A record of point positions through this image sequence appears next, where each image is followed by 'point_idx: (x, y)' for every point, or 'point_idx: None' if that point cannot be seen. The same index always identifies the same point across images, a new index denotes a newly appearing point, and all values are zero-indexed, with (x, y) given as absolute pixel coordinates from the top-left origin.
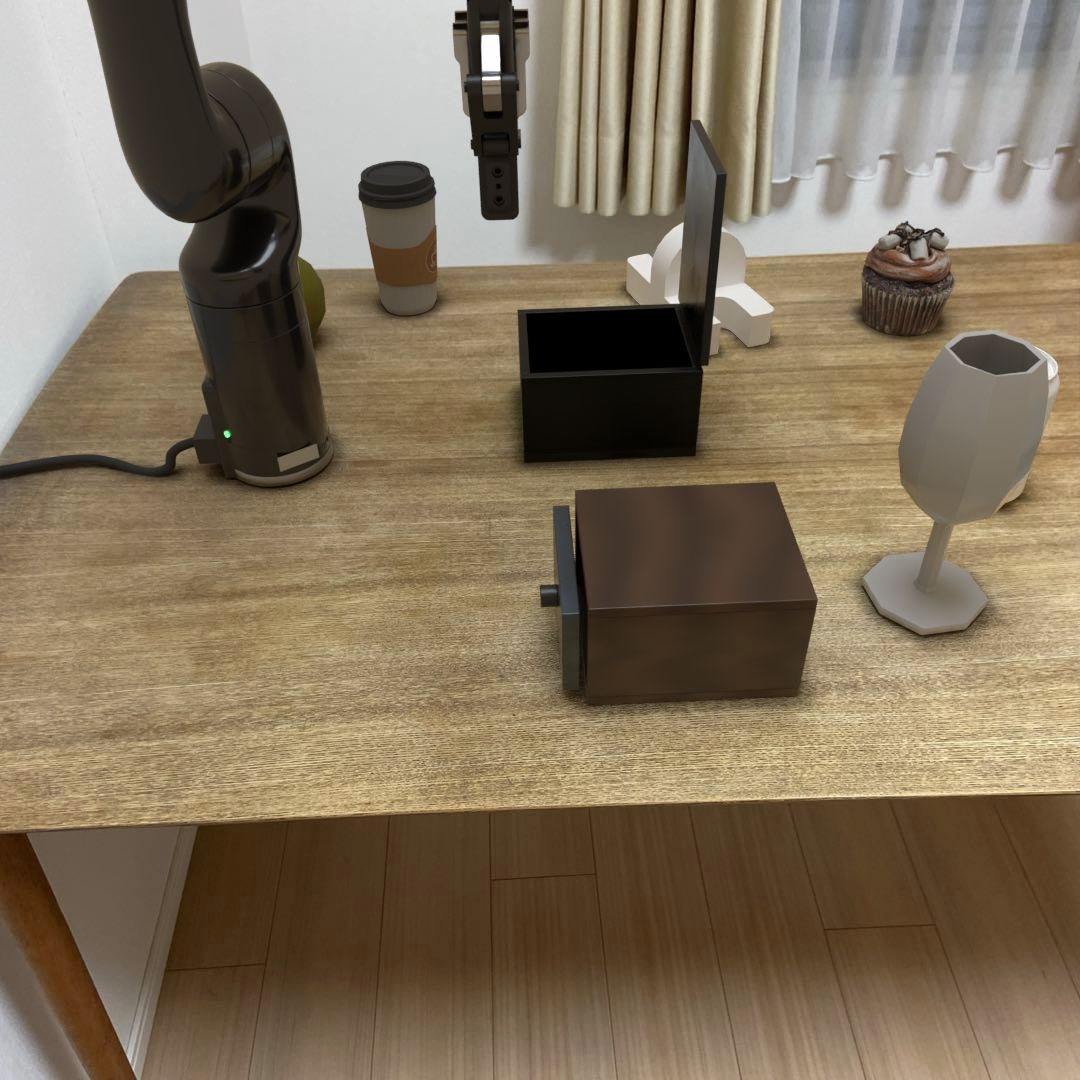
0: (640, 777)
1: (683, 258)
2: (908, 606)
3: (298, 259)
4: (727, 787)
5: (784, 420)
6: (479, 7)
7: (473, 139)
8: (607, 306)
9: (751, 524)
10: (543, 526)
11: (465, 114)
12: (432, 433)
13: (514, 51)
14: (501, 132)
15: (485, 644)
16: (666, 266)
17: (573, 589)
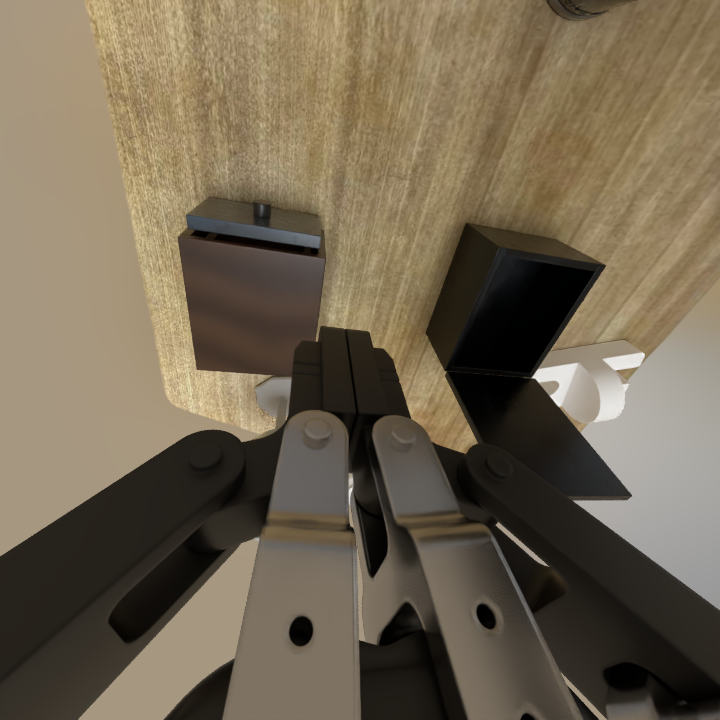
0: (148, 229)
1: (546, 402)
2: (270, 389)
3: None
4: (147, 275)
5: (437, 382)
6: None
7: (86, 502)
8: (560, 333)
9: (268, 356)
10: (388, 221)
11: (266, 524)
12: (542, 147)
13: (583, 692)
14: (196, 543)
15: (268, 146)
16: (596, 377)
17: (216, 230)
